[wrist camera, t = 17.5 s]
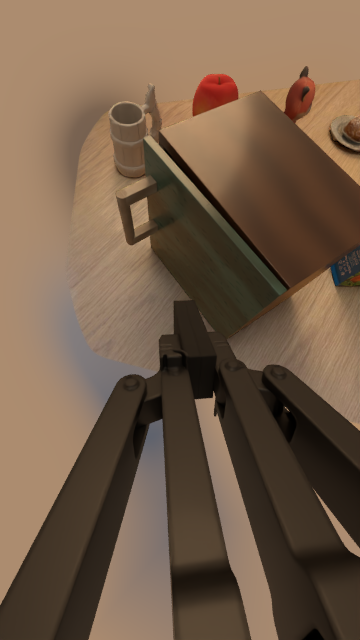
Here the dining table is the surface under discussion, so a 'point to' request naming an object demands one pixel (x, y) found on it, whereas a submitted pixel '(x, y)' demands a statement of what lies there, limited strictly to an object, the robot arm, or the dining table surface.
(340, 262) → the blue food package
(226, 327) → the door
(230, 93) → the apple
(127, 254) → the dining table surface
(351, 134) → the pastry
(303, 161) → the cupboard
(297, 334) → the dining table surface
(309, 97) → the stuffed fox
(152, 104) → the mug
